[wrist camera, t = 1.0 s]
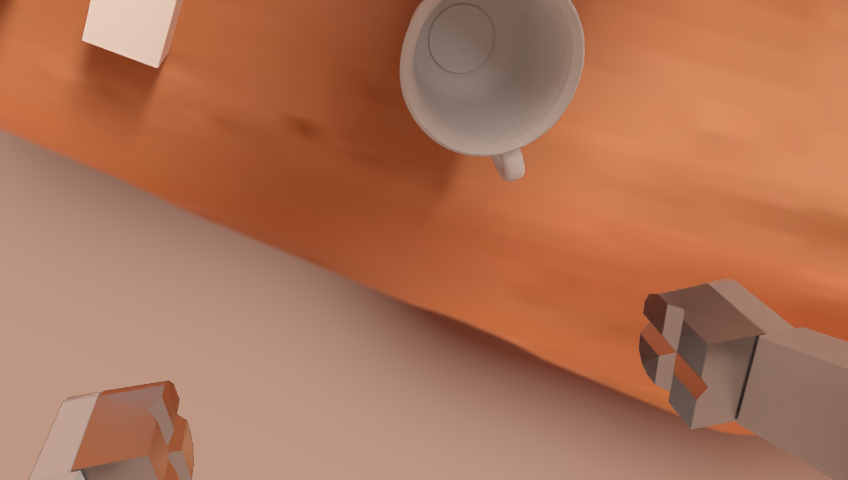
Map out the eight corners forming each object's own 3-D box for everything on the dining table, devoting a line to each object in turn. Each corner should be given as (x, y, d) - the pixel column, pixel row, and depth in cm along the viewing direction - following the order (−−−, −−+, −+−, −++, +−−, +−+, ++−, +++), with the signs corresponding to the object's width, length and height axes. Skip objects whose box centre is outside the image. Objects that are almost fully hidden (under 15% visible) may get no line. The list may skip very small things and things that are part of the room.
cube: (115, -39, 40) (98, -32, 36) (186, -10, 42) (176, 0, 38) (99, 27, 42) (81, 40, 38) (168, 53, 44) (157, 68, 40)
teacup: (413, 163, 51) (439, 217, 43) (356, -22, 44) (374, 0, 35) (549, 117, 52) (601, 161, 43) (516, -74, 44) (572, -66, 35)
